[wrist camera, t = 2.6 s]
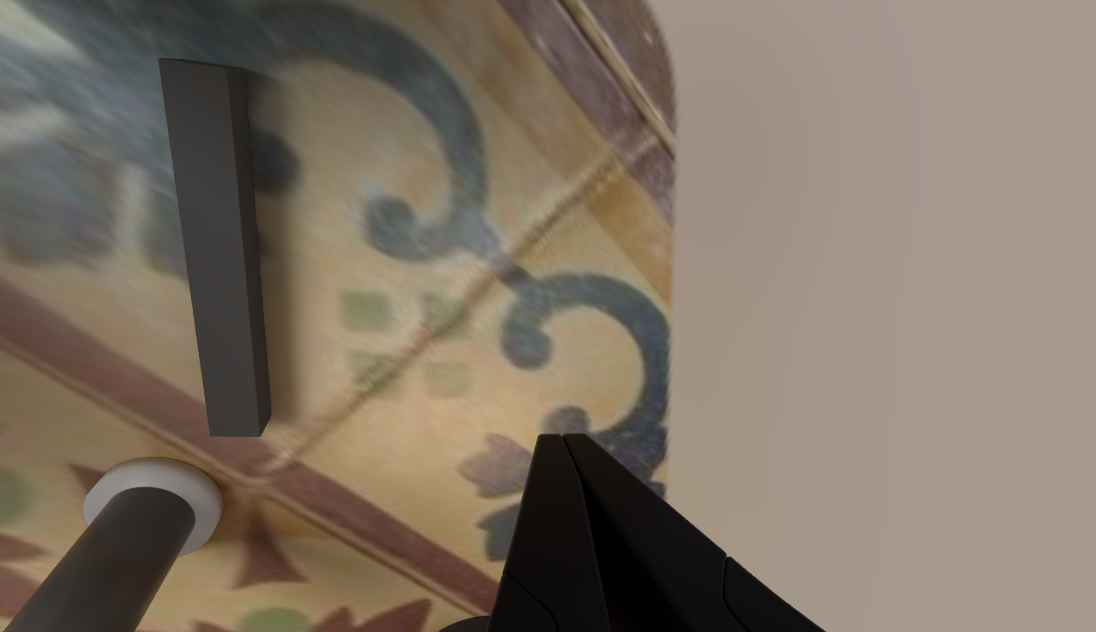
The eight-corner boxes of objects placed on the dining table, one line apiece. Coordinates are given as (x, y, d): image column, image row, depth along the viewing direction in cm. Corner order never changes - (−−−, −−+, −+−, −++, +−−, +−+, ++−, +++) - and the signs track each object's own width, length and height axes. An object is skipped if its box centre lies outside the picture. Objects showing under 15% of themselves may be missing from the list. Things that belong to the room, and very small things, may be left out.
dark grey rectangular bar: (273, 410, 20) (260, 436, 18) (228, 409, 20) (210, 435, 18) (248, 68, 15) (226, 68, 14) (186, 59, 15) (158, 58, 13)
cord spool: (231, 539, 22) (76, 865, 13) (112, 546, 21) (-145, 899, 12) (214, 455, 20) (17, 766, 11) (82, 459, 19) (-246, 798, 10)
